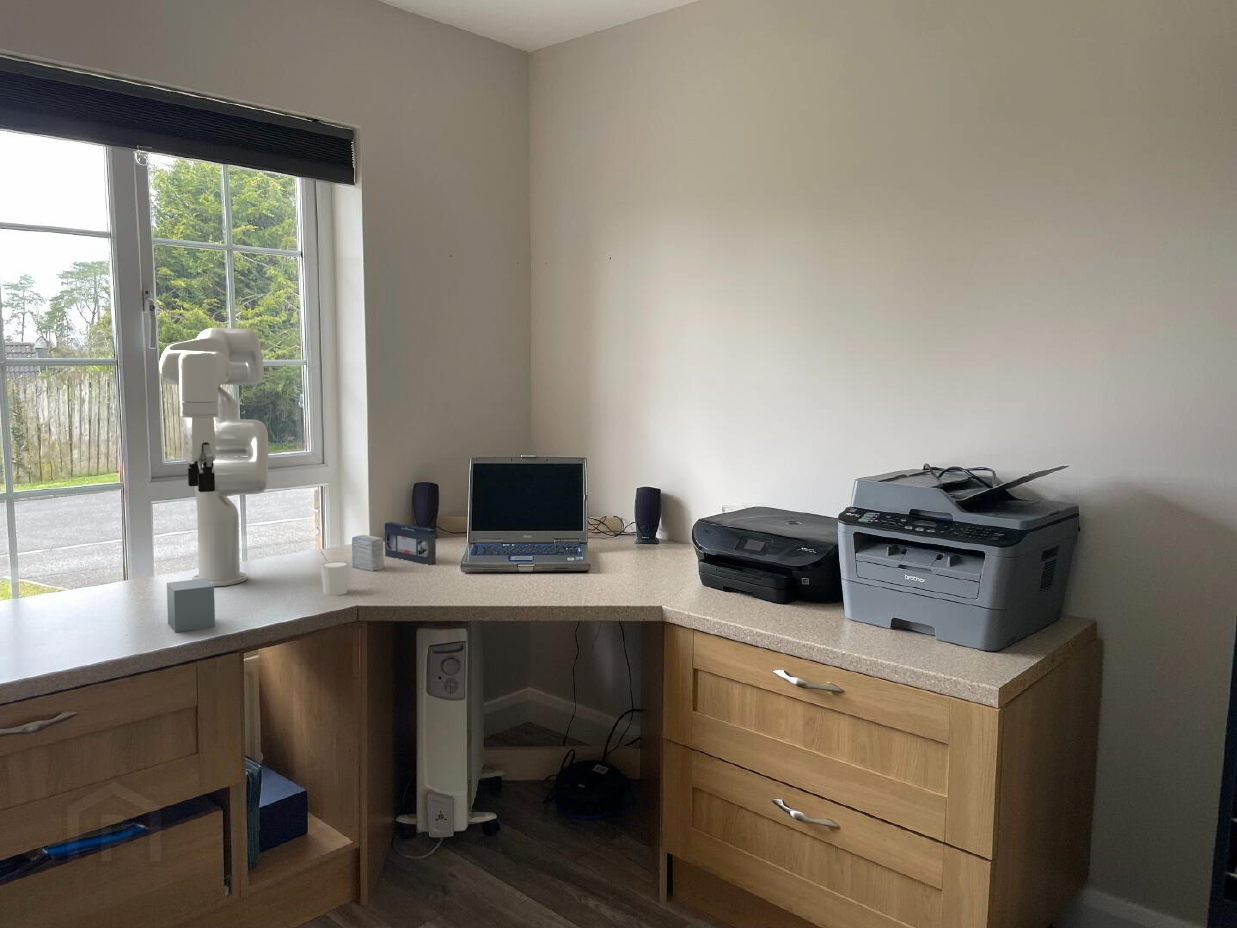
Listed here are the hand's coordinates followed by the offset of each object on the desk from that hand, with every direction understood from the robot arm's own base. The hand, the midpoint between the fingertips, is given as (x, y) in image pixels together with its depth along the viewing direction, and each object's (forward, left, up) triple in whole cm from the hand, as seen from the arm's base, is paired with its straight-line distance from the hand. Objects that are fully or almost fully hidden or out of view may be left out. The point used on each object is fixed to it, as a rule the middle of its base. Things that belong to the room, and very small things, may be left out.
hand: (201, 488), depth 196 cm
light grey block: (-25, +47, -29) cm, 60 cm away
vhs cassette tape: (-29, +61, -29) cm, 73 cm away
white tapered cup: (-5, +31, -28) cm, 42 cm away
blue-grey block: (+6, -4, -28) cm, 29 cm away
